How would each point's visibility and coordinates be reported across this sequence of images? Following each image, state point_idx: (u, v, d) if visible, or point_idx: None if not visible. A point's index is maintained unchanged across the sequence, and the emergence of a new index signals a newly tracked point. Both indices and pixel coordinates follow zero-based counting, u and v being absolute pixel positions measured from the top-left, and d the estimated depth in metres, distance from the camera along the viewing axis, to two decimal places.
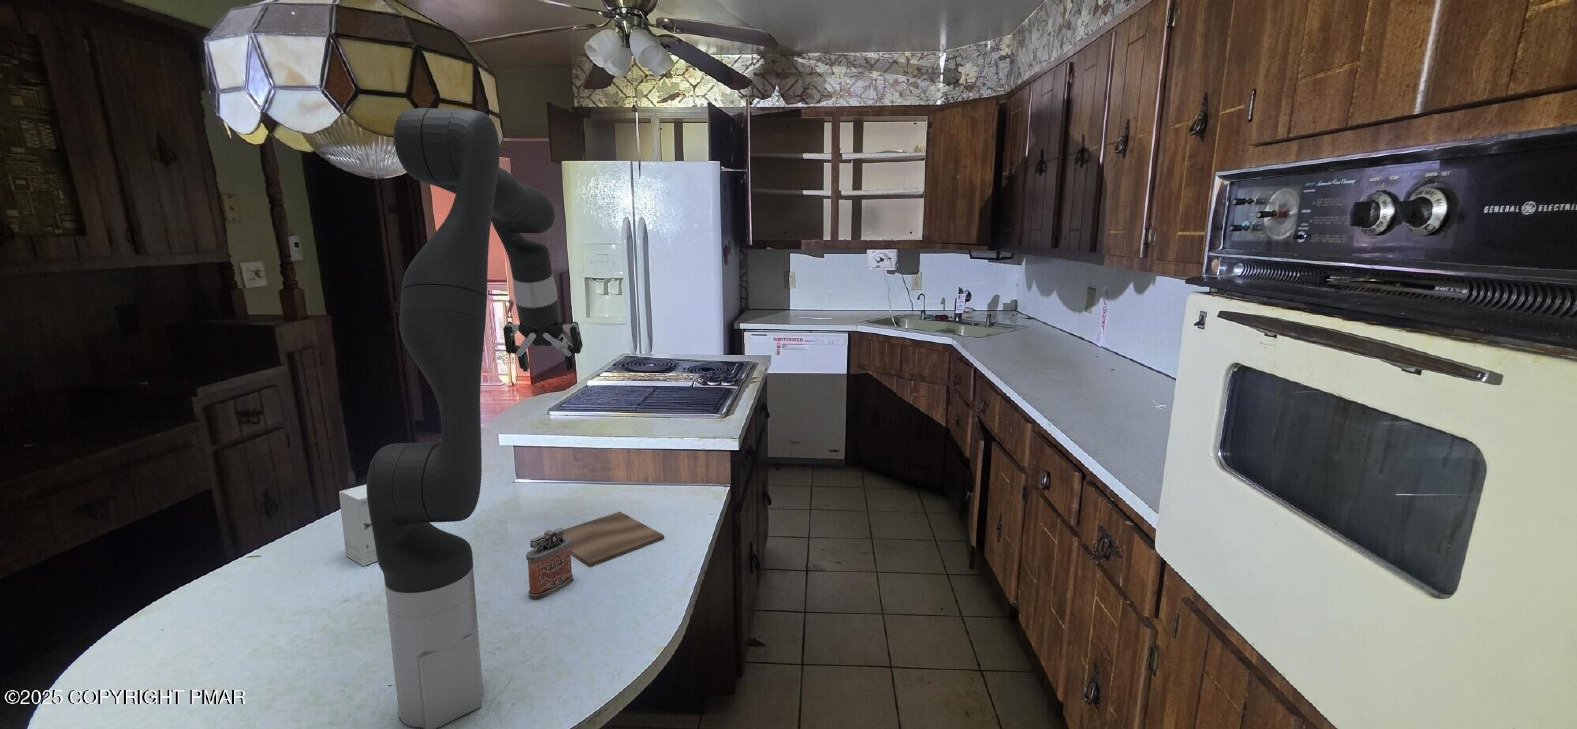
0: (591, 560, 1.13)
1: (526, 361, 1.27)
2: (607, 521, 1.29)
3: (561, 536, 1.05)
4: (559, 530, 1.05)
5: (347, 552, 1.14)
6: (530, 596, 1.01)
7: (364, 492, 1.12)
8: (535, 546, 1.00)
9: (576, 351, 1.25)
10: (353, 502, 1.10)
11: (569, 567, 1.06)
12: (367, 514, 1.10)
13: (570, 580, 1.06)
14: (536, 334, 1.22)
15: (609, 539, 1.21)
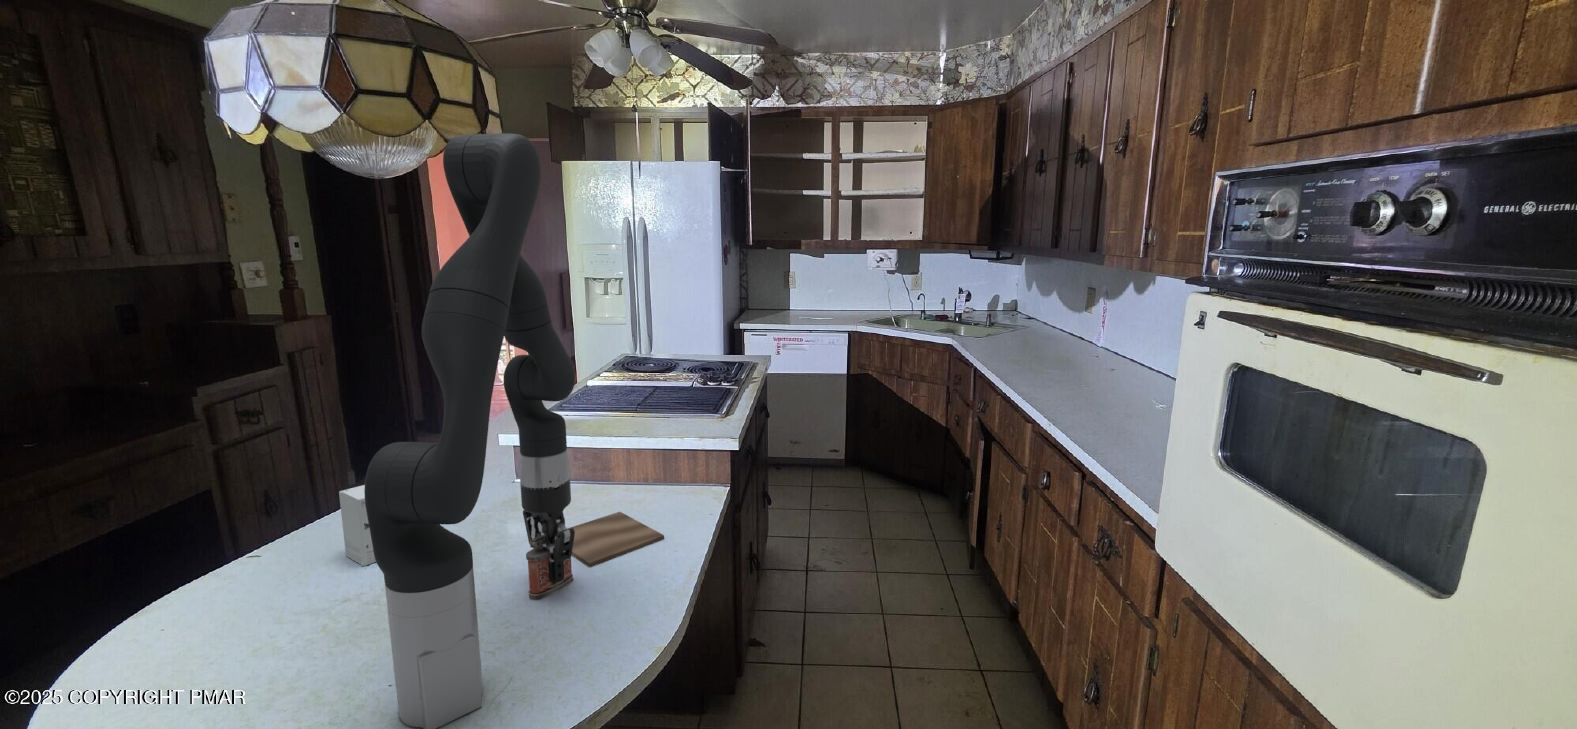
0: (591, 560, 1.13)
1: None
2: (607, 521, 1.29)
3: None
4: None
5: (347, 552, 1.14)
6: (530, 596, 1.01)
7: None
8: (535, 546, 1.01)
9: (554, 559, 1.00)
10: (353, 502, 1.10)
11: (569, 567, 1.06)
12: None
13: (570, 580, 1.06)
14: (536, 520, 1.02)
15: (609, 539, 1.21)
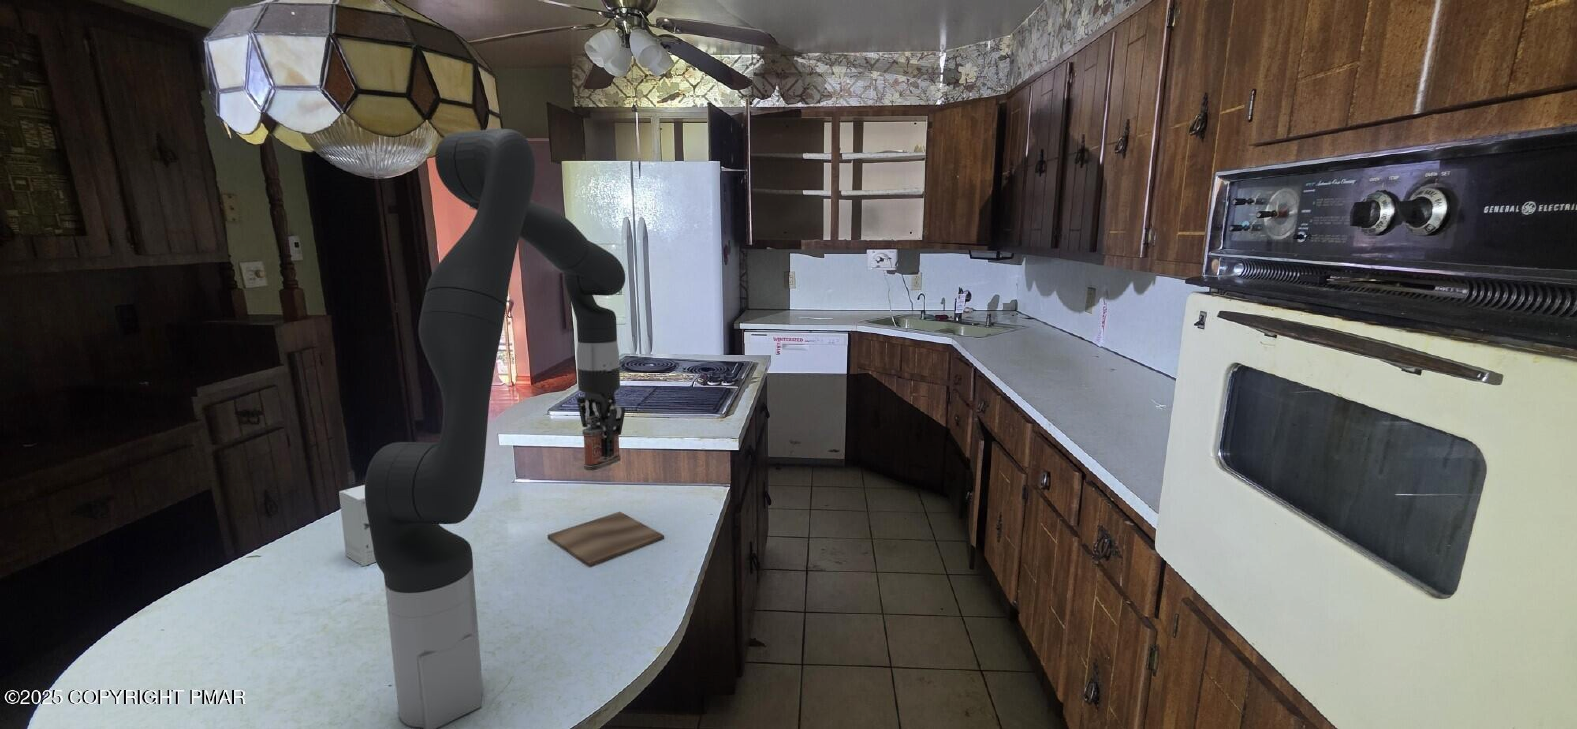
0: (591, 560, 1.13)
1: None
2: (607, 521, 1.29)
3: None
4: None
5: (347, 552, 1.14)
6: (586, 467, 1.17)
7: (364, 492, 1.12)
8: (590, 423, 1.16)
9: (607, 434, 1.15)
10: (353, 502, 1.10)
11: (617, 447, 1.22)
12: None
13: (618, 458, 1.22)
14: (590, 402, 1.18)
15: (609, 539, 1.21)
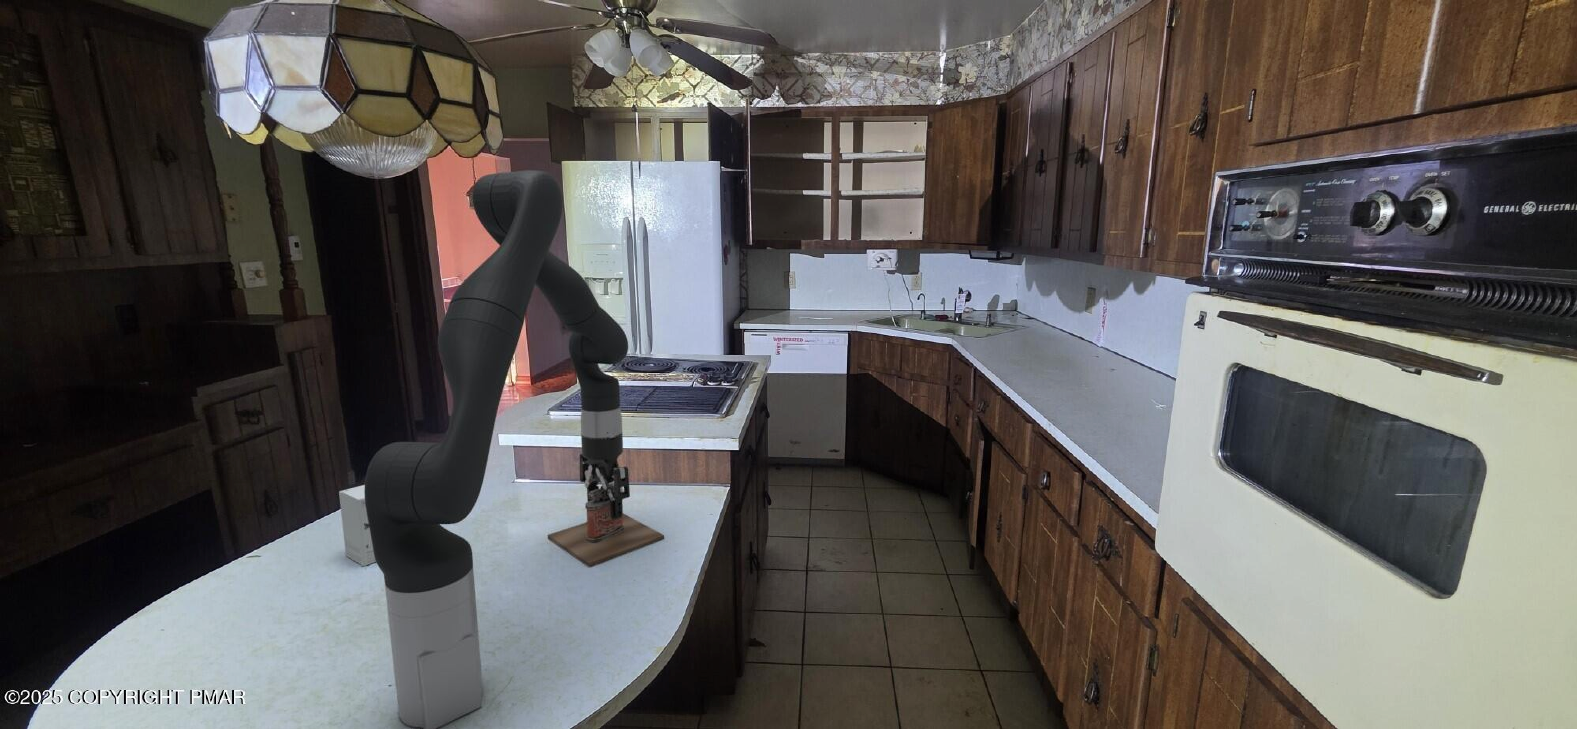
0: (591, 560, 1.13)
1: None
2: None
3: (614, 490, 1.23)
4: None
5: (347, 552, 1.14)
6: (588, 540, 1.20)
7: None
8: (593, 497, 1.19)
9: (615, 497, 1.16)
10: (353, 502, 1.10)
11: (620, 518, 1.24)
12: None
13: (621, 529, 1.24)
14: (594, 468, 1.20)
15: (609, 539, 1.21)
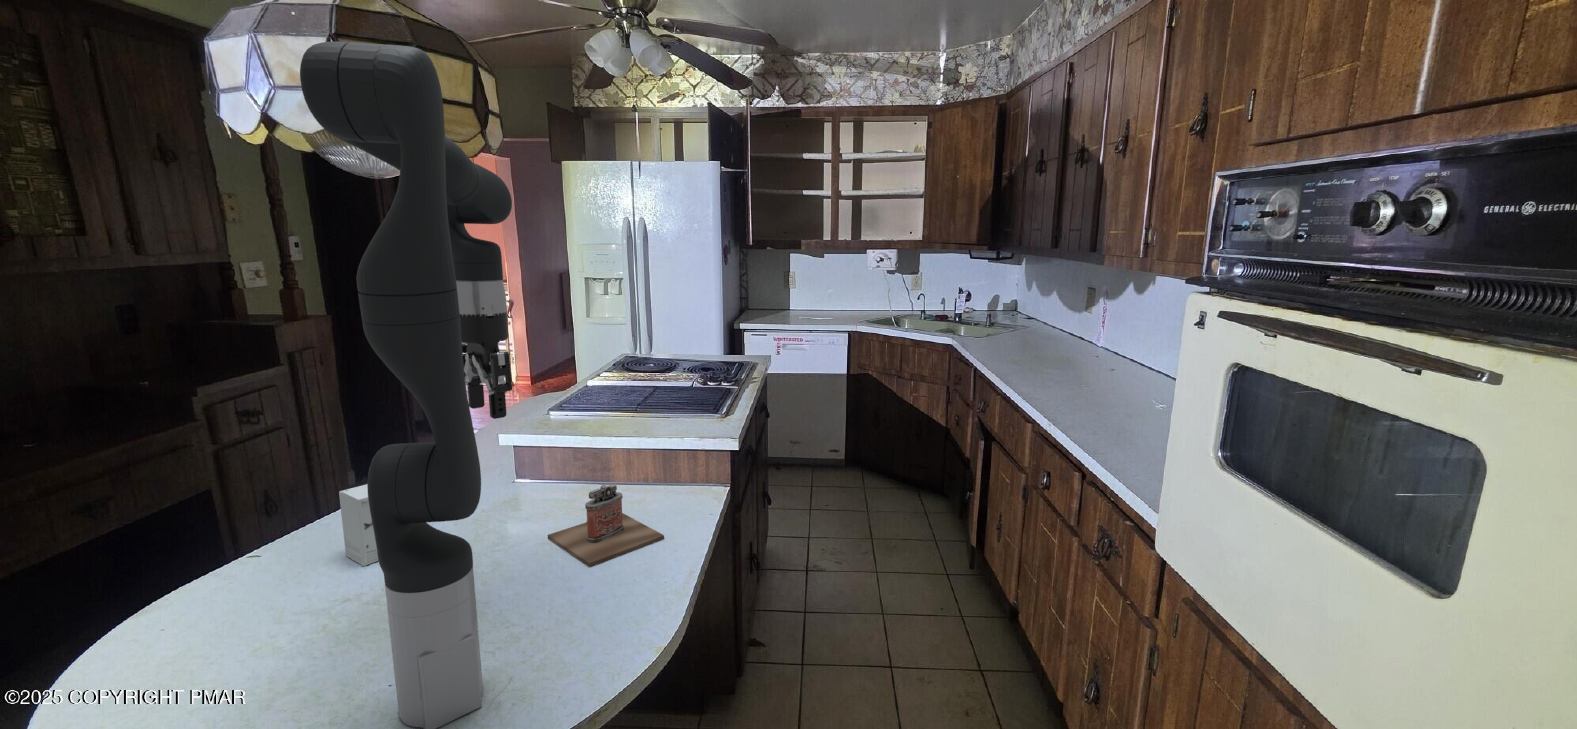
0: (591, 560, 1.13)
1: (477, 396, 1.02)
2: None
3: (614, 490, 1.23)
4: (612, 485, 1.23)
5: (347, 552, 1.14)
6: (588, 540, 1.20)
7: (364, 492, 1.12)
8: (593, 497, 1.19)
9: (493, 389, 0.93)
10: (353, 502, 1.10)
11: (620, 518, 1.24)
12: (367, 514, 1.10)
13: (621, 529, 1.24)
14: (471, 357, 0.97)
15: (609, 539, 1.21)
